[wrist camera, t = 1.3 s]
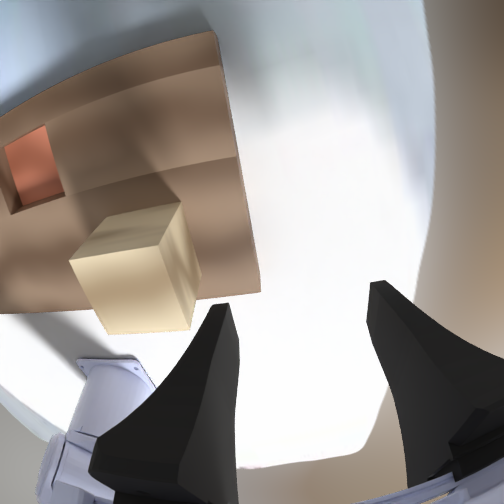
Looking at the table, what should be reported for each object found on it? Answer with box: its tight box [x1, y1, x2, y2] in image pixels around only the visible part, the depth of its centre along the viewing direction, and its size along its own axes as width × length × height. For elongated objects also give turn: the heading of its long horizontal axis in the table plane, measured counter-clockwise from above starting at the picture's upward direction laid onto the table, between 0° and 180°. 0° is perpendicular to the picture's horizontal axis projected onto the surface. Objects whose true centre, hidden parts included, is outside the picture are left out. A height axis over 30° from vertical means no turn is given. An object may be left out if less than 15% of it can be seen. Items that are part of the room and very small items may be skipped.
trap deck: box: [0, 30, 261, 314], centre depth 17 cm, size 16×37×5 cm, turn 99°
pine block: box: [69, 202, 202, 335], centre depth 16 cm, size 5×5×5 cm
